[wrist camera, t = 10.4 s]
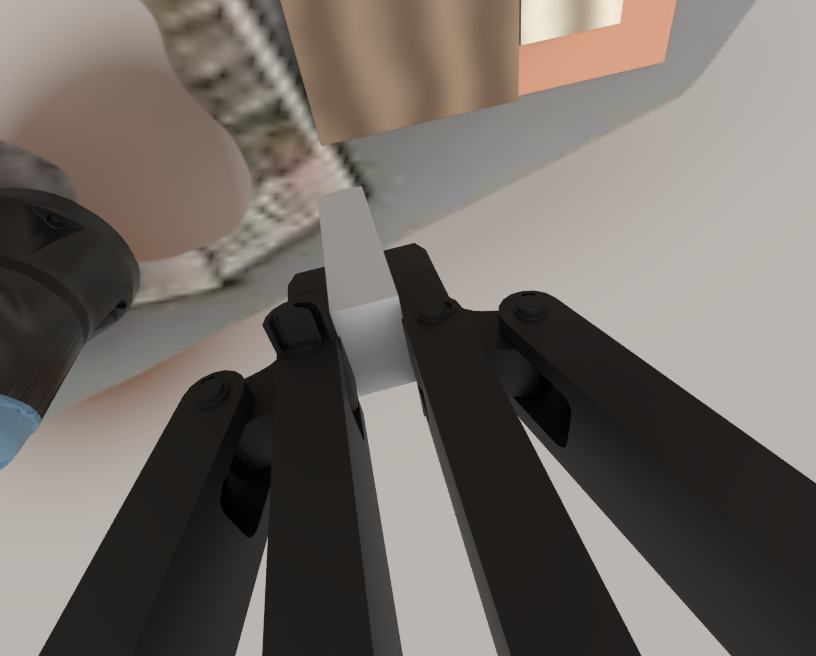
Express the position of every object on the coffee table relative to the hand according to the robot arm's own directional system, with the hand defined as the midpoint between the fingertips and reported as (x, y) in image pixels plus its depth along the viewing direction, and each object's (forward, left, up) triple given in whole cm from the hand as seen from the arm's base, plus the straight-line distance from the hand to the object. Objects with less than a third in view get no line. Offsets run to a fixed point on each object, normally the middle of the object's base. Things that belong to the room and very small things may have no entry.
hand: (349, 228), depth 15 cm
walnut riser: (+8, +3, -29) cm, 31 cm away
